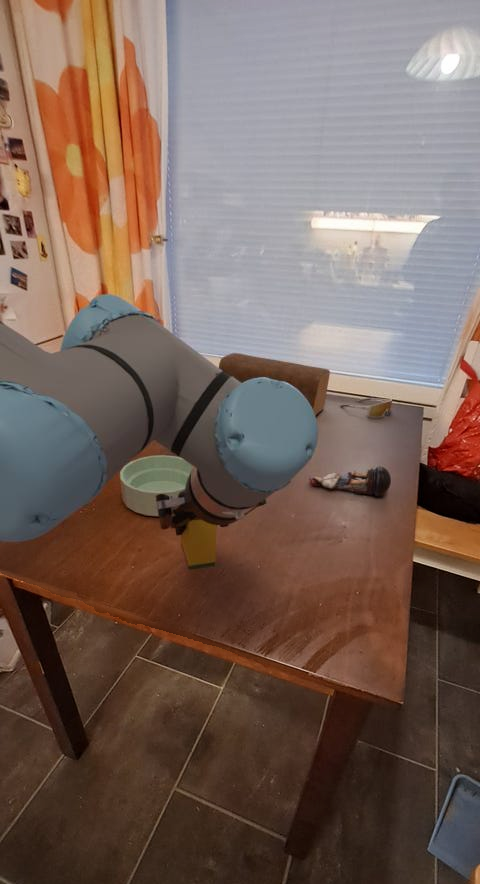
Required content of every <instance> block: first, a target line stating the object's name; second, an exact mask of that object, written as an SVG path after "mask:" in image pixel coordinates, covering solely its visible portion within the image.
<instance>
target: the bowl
mask: <svg viewBox="0 0 480 884" xmlns="http://www.w3.org/2000/svg"><path fill="white" fill-rule="evenodd" d="M192 469H193V465H191V464H190V463H188V462H187V461H185V460H184V459H183V458H181V457H179V456H177V455H164V454H163V455H161V454H160V455H149V456H144V457H139V458H137V459H134V460H130V461H129V462H128V463H127V464H126V465H125V466H124V467H123V468H122V469H121V470H120V471H119V479H120V480H119V481H120V488H121V489H120V490H121V497H122V502H123V503H124V505H125V506H126V508H128V509H129V510H131V511H133V512H134V513H137V514H140V515H143V516H149V517H150V516H151V517H159V516H158V509H157V502H156V495H159V494H166V495H167V496H169V495H172V496H173V499H174V498H178V494H179V493H180V492H181V491H184V490H185V486H186V482H187V479H188V477H189V475H190V473H191V471H192Z"/></svg>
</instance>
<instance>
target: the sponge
mask: <svg viewBox="0 0 480 884" xmlns="http://www.w3.org/2000/svg"><path fill="white" fill-rule="evenodd" d="M186 527H187V528H186V529H185V530H184V532H183V533H182V534H181V535H180V547H181V550H182V553H183V556H184V560H185V562H186V566H187V569H188V571H192V570H199V569H204V568H211V567H215V566H216V551H217V549H216V548H217V527H218V525H213V524H209V523H207V522H205V521H203V520H192V521H190V522H189V523H187V524H186Z"/></svg>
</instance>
